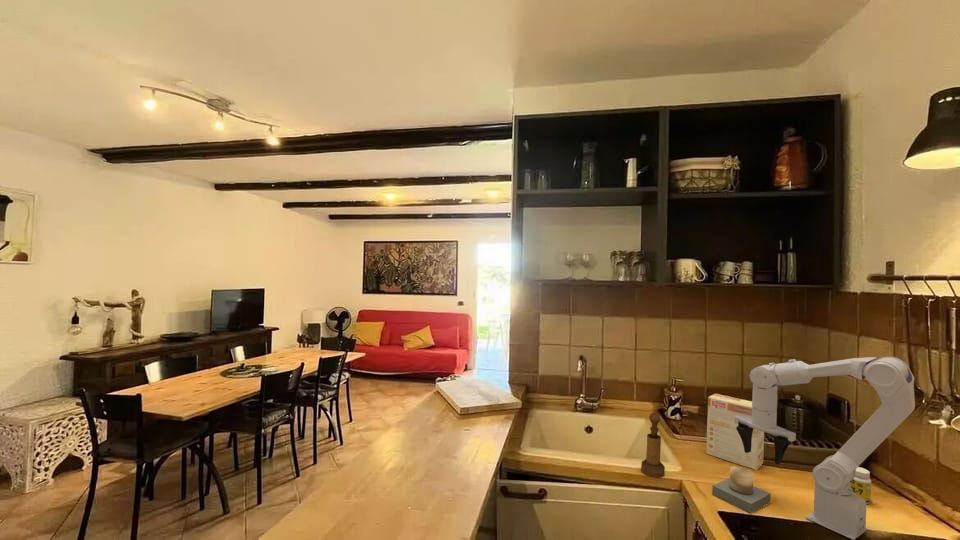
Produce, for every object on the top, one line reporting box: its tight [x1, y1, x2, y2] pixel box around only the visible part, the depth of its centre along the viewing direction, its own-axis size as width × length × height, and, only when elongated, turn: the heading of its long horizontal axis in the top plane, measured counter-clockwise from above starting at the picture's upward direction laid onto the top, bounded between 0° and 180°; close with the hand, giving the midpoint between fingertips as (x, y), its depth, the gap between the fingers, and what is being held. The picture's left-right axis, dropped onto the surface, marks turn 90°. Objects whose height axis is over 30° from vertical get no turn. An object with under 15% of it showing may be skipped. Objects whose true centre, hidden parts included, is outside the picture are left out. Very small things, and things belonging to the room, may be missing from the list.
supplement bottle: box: [849, 466, 872, 505], centre depth 115 cm, size 5×5×8 cm
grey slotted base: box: [711, 477, 772, 514], centre depth 114 cm, size 10×10×2 cm
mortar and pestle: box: [640, 412, 666, 478], centre depth 127 cm, size 7×6×18 cm
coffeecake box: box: [705, 393, 765, 471], centre depth 137 cm, size 15×7×20 cm, turn 42°
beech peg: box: [729, 466, 755, 495], centre depth 114 cm, size 5×5×8 cm
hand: (762, 457), depth 116 cm, fingers open, 7 cm apart
